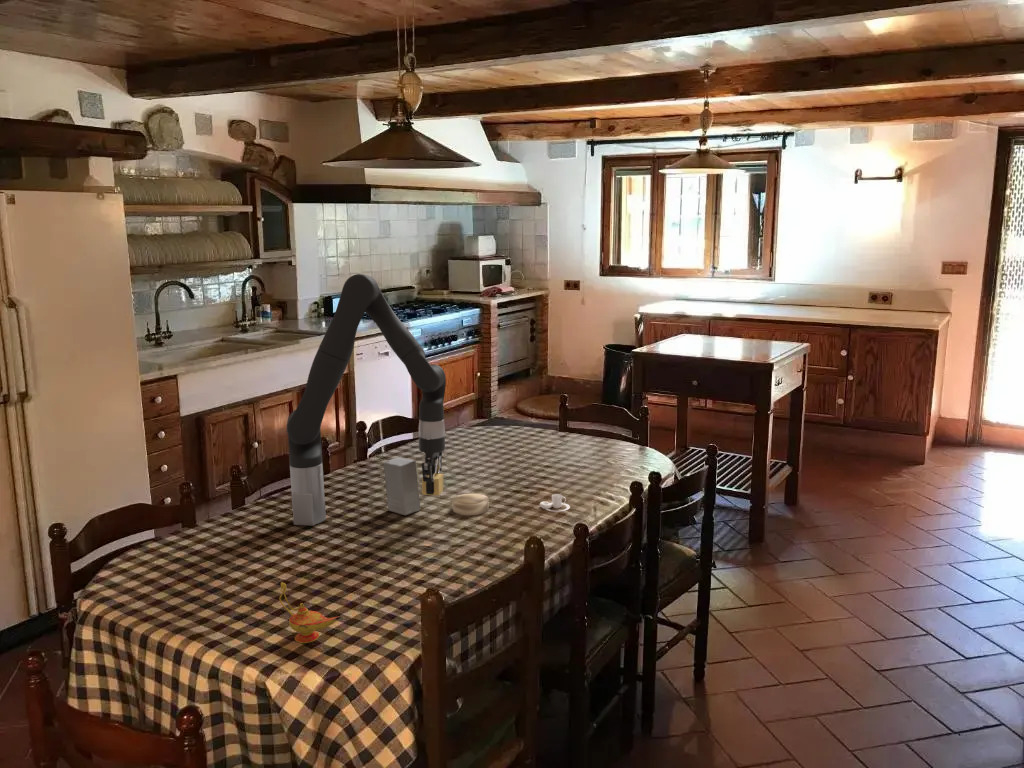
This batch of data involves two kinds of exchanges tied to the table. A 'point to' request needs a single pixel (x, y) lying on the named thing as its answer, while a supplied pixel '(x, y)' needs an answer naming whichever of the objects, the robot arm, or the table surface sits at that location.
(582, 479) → the table surface
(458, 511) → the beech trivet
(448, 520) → the table surface
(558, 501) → the teacup and saucer
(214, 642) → the table surface
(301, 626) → the magic lamp
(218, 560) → the table surface
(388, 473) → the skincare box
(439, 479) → the ochre block
